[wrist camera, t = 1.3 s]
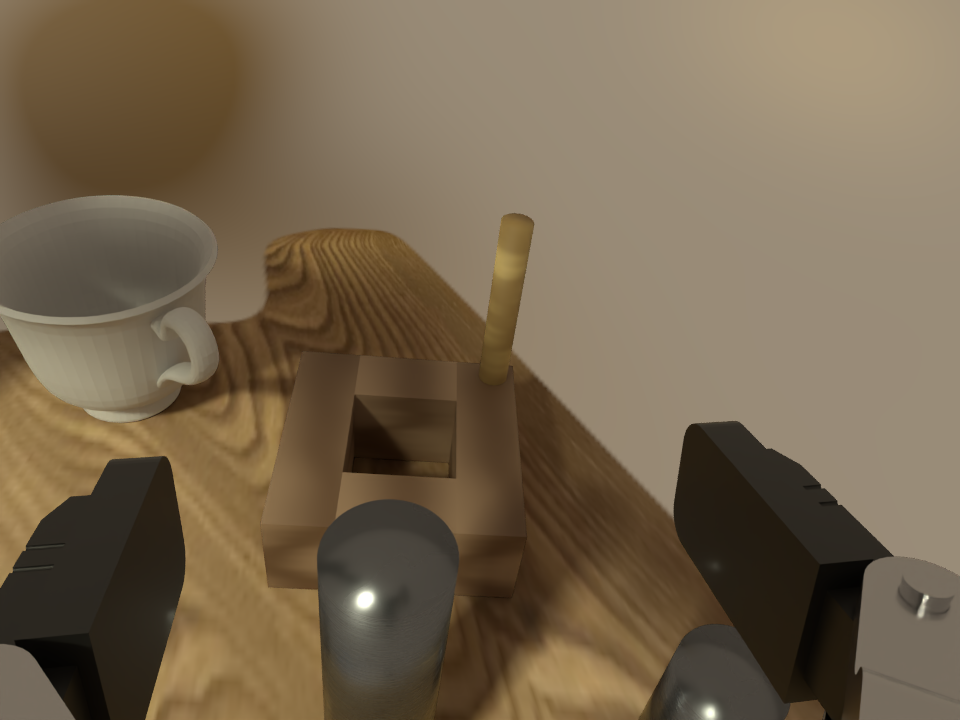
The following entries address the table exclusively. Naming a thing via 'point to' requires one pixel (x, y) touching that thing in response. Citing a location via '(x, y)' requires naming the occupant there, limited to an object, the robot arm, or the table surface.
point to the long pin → (385, 610)
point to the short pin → (714, 681)
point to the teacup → (110, 301)
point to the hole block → (409, 444)
